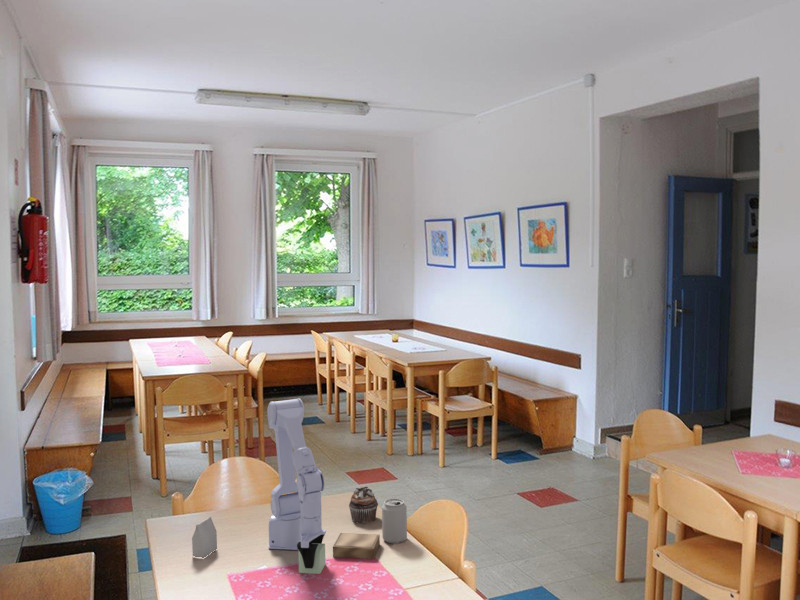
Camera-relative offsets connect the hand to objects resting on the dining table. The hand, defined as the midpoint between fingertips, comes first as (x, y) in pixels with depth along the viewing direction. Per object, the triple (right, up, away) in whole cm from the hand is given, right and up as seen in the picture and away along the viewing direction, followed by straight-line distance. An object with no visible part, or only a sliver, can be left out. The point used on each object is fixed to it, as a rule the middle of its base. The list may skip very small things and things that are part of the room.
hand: (312, 562), depth 197 cm
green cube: (0, -2, 0) cm, 2 cm away
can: (+23, 0, +19) cm, 30 cm away
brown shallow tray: (+12, -1, +12) cm, 16 cm away
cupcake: (+12, +1, +36) cm, 39 cm away
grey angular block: (-33, -2, +11) cm, 35 cm away
